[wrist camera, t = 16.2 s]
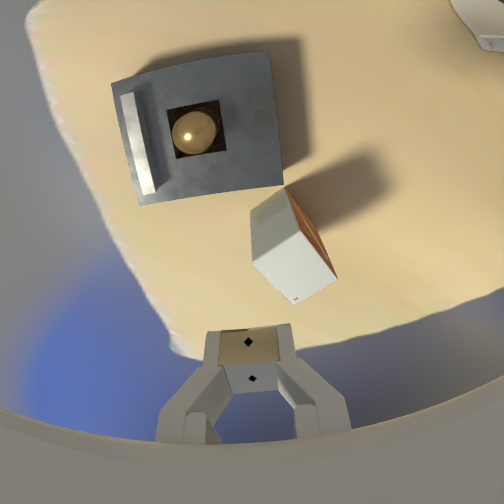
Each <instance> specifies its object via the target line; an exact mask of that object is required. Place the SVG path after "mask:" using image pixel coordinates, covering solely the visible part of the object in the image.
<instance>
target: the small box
mask: <svg viewBox="0 0 504 504" xmlns="http://www.w3.org/2000/svg"><path fill="white" fill-rule="evenodd" d="M250 230H251V249H252V263H253V265H254V266H255V267H256V268H257V269H258V270H259V271H260V272H261V273H262V274H263V275H264V276H265V278H266V279H267V280H268V281H269V282H270V283H271V284H272V285H273V287H274V288H275V289H277V290H278V291H279V292H280V293H281V294H282V295H283V296H284V297H285V298H286V299H287V300H288V301H289V302H290V303H291V304H292V305H293V306H294V305H296V304H297V303H299V302H301V301H303V300H305V299H306V298H308V297H310V296H311V295H313V294H315V293H316V292H318V291H319V290H321V289H323V288H324V287H326V286H327V285H329V284H331V283H332V282H334V281H335V280H337V279H338V278H337V275H336V273H335V271H334V269H333V266H332V264H331V261H330V259H329V257H328V254H327V252H326V250H325V247H324V245H323V243H322V241H321V238H320V236H319V234H318V231H317V229H316V227H315V226H314V224H313V223H312V222H311V221H310V219H309V218H308V217H307V216H306V214H305V213H304V212H303V210H302V209H301V208H300V207H299V205H298V204H297V203H296V201H295V200H294V199H293V197H292V196H291V195H290V193H289V192H288V191H287V189H286V188H285V187H284V188H282V189H281V190H280V191H278V192H277V193H275V194H274V195H273V196H271V197H270V198H269V199H267V200H266V201H264V202H263V203H261V204H260V205H259V206H257V207H256V208H255V209H253V210H252V211H250Z"/></svg>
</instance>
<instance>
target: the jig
mask: <svg viewBox="0 0 504 504" xmlns="http://www.w3.org/2000/svg"><path fill="white" fill-rule="evenodd" d="M111 87H112V92H113V97H114V103H115V108H116V113H117V117H118V122H119V127H120V131H121V136H122V140H123V144H124V148H125V153H126V157H127V161H128V165H129V168H130V172H131V176H132V180H133V183H134V187H135V191H136V194H137V198H138V201H139V205H140V206H142V205H147V204H153V203H158V202H164V201H170V200H176V199H182V198H188V197H195V196H201V195H208V194H215V193H222V192H229V191H237V190H244V189H252V188H261V187H269V186H278V185H284V182H283V171H282V160H281V150H280V140H279V130H278V121H277V112H276V103H275V95H274V86H273V78H272V70H271V63H270V55H269V51H259V52H249V53H241V54H233V55H226V56H219V57H213V58H207V59H202V60H197V61H192V62H187V63H182V64H178V65H173V66H169V67H165V68H161V69H157V70H153V71H149V72H146V73H142V74H139V75H135V76H132V77H129V78H126V79H123V80H120V81H116V82H114V83H111ZM214 100H219V102H220V109H221V115H222V122H223V128H224V135H225V141H226V143H221V144H214V145H210V146H209V148H208V149H206V150H205V151H203V152H201V153H198V154H188V153H185V152H183V151H181V150H180V149H178V148H177V146H176V145H175V144H174V141H173V138H172V130H173V126H174V124H175V123H176V121H177V120H178V116H177V111H176V108H177V107H182V106H187V105H192V104H197V103H203V102H208V101H214Z"/></svg>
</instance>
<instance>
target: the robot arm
mask: <svg viewBox="0 0 504 504" xmlns="http://www.w3.org/2000/svg"><path fill="white" fill-rule="evenodd" d="M450 2H451V4H452V6H453V8H454V9H455V11H456V13H457V14H458V16H459V17H460V18H461V20H462V21H463V22H464V23H465V25H466V26H467V27H468V28H469V29H470V30H471V31H472V32H473V34H474V35H475V37H476V39H477V41H478V43H479V45H480V47H481V48H482V49H483V50H485V51H495V52H504V0H450ZM489 44H490V45H489ZM270 390H279V392H280V393H281V394H282V395H283V396H284V398H285V399H286V400H287V401H288V402H289V404H290V405H291V406H292V407H293V408H294V435H295V439H293V440H285V441H276V442H263V443H249V444H222V441H221V439H220V438H219V436H218V434H217V433H216V431H215V429H214V428H213V425H214V423H215V422H216V420H217V419H218V417H219V416H220V414H221V413H222V411H223V410H224V408H225V406H226V405H227V403H228V402H229V400H230V399H231V397H232V396H233V395H232V394H236V393H247V392H257V391H270ZM0 504H504V375H503V376H501V377H499V378H497V379H495V380H493V381H491V382H489V383H487V384H485V385H483V386H481V387H479V388H477V389H475V390H472V391H470V392H468V393H466V394H463V395H461V396H458V397H456V398H454V399H451V400H449V401H446V402H443V403H441V404H438V405H436V406H433V407H430V408H427V409H424V410H421V411H418V412H415V413H412V414H409V415H406V416H403V417H400V418H396V419H392V420H389V421H385V422H381V423H378V424H374V425H370V426H365V427H361V428H357V429H352V428H351V424H350V420H349V416H348V411H347V407H346V403H345V399H344V397H343V396H342V395H341V394H340V393H339V392H338V391H336V390H335V389H334V388H333V387H332V386H331V385H330V384H329V383H327V382H326V381H325V380H324V379H323V378H322V377H321V376H320V375H318V374H317V373H316V372H315V371H314V370H313V369H312V368H311V367H310V366H308V365H307V364H306V363H305V362H304V361H303V360H302V359H301V358H299V359H296V352H295V346H294V340H293V335H292V329H291V325H290V323H288V324H281V325H272V326H264V327H256V328H249V329H236V330H221V331H208V332H207V334H206V341H205V350H204V359H203V367H199V368H198V369H197V370H196V371H195V372H194V373H193V374H192V376H191V377H190V378H189V379H188V380H187V381H186V382H185V384H184V385H183V386H182V387H181V388H180V389H179V390H178V391H177V393H176V394H175V395H174V396H173V397H172V398H171V399H170V400H169V401H168V403H167V404H166V405H165V406H164V407H163V408H162V409H161V410H160V414H159V420H158V426H157V432H156V439H155V442H147V441H138V440H129V439H122V438H115V437H109V436H103V435H97V434H92V433H87V432H82V431H77V430H73V429H68V428H64V427H60V426H56V425H52V424H49V423H45V422H41V421H38V420H35V419H32V418H28V417H25V416H22V415H19V414H16V413H13V412H11V411H8V410H5V409H2V408H0Z"/></svg>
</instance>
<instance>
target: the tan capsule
mask: <svg viewBox="0 0 504 504" xmlns="http://www.w3.org/2000/svg"><path fill="white" fill-rule="evenodd" d="M219 128H220V119H219V116H218V115H217V113H216V112H215V111H214V110H212V109H210V108H206V107H201V108H197V109H195V110H193V111H191V112H189V113H187V114H186V115H184V116H182V117H180V118H179V119H178V120H177V121H176V123H175V124H174V126H173V130H172V138H173V141H174V144H175V145H176V146H177V148H178V149H180V150H181V151H183V152H185V153H188V154H198V153H201V152H203V151H205V150H206V149H208V148H209V146H210V145H211V144H212V142H213V140H214V138H215V136H216V134H217V132H218V130H219Z"/></svg>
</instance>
